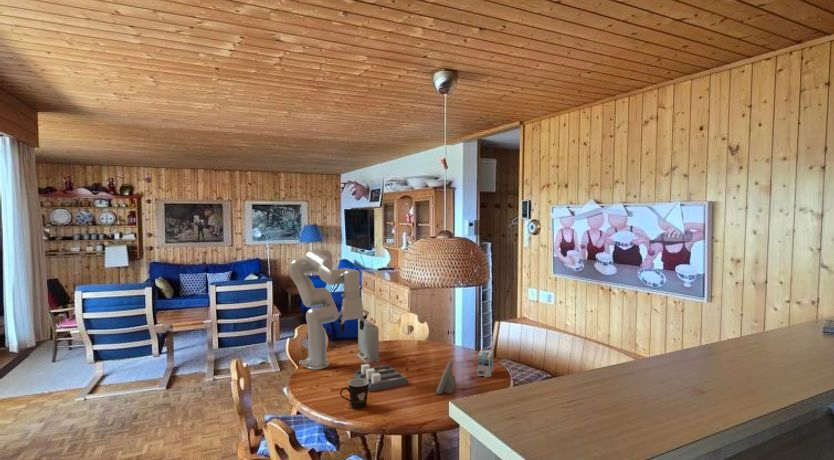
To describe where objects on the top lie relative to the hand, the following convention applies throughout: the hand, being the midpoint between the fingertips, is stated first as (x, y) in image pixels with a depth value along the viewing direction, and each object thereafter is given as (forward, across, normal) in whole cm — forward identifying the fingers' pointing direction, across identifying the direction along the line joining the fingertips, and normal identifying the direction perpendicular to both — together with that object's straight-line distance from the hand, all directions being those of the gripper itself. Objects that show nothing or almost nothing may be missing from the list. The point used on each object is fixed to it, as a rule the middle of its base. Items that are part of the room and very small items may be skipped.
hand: (352, 330), depth 205 cm
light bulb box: (+25, +63, -24) cm, 71 cm away
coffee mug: (+25, -8, -28) cm, 38 cm away
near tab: (+22, +7, -14) cm, 27 cm away
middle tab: (+22, +7, -7) cm, 24 cm away
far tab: (+22, +7, 0) cm, 23 cm away
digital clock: (+25, +34, -30) cm, 52 cm away
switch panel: (+24, +12, -7) cm, 28 cm away
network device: (+25, +19, +28) cm, 42 cm away
